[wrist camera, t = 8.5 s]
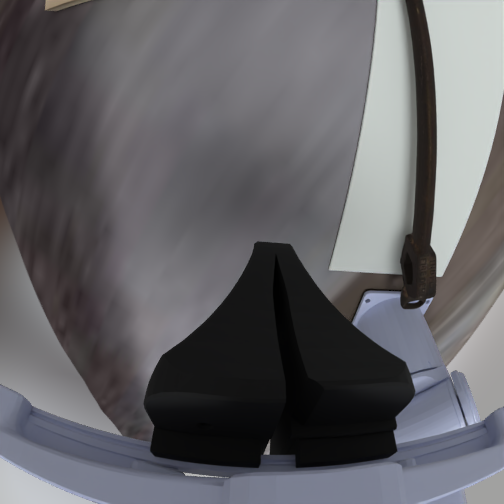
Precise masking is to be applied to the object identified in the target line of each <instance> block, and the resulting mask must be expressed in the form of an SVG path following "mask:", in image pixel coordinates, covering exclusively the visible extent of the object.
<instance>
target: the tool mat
mask: <svg viewBox="0 0 504 504" xmlns="http://www.w3.org/2000/svg"><path fill="white" fill-rule="evenodd" d="M423 4H424V8H425V13H426V18H427V23H428V29H429V35H430V41H431V48H432V56H433V65H434V76H435V90H436V112H437V167H436V186H435V202H434V216H433V225H432V234H431V243H430V245H431V247H432V249H433V250H434V252H435V254H436V260H437V267H436V276H437V277H442V275H443V273H444V271H445V269H446V267H447V265H448V263H449V261H450V259H451V257H452V255H453V253H454V250H455V248H456V246H457V244H458V241H459V239H460V237H461V234H462V232H463V230H464V227H465V225H466V222H467V220H468V217H469V215H470V212H471V210H472V207H473V204H474V201H475V199H476V196H477V193H478V190H479V187H480V184H481V181H482V178H483V175H484V172H485V169H486V165H487V162H488V158H489V155H490V151H491V147H492V144H493V140H494V136H495V132H496V127H497V123H498V118H499V113H500V108H501V103H502V97H503V91H504V0H423ZM416 158H417V106H416V83H415V67H414V57H413V46H412V38H411V30H410V24H409V17H408V12H407V7H406V1H405V0H377V10H376V22H375V33H374V42H373V51H372V59H371V67H370V75H369V82H368V88H367V95H366V101H365V108H364V114H363V119H362V125H361V131H360V136H359V141H358V147H357V152H356V157H355V162H354V166H353V171H352V176H351V181H350V185H349V190H348V194H347V198H346V203H345V207H344V211H343V215H342V219H341V223H340V227H339V231H338V235H337V239H336V243H335V247H334V251H333V254H332V258H331V262H330V265H329V270H335V271H351V272H367V273H383V274H401V275H402V269H401V264H400V258H401V255H402V249H403V246H404V241H405V236H406V235H407V234H411V233H412V230H413V218H414V203H415V183H416Z"/></svg>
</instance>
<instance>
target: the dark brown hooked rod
mask: <svg viewBox="0 0 504 504" xmlns="http://www.w3.org/2000/svg"><path fill="white" fill-rule="evenodd" d="M405 1H406V7H407V12H408V17H409V24H410V30H411V38H412V46H413V57H414V67H415V83H416V106H417V158H416V183H415V203H414V218H413V230H412V233H411V234H407V235H406V236H405V241H404V246H403V249H402V255H401V258H400V264H401V269H402V275H403V281H404V287H403V289H402V291H401V295H400V304H401V307H402V308H403V309H417V308H419V307H421V306H422V305H423V304H424V303H425V302H426V299H430V298H433V297H434V296H435V294H436V267H437V260H436V254H435V252H434V250H433V249H432V247H431V245H430V243H431V234H432V225H433V216H434V202H435V186H436V167H437V112H436V90H435V76H434V65H433V56H432V48H431V41H430V35H429V29H428V23H427V18H426V13H425V8H424V4H423V0H405ZM417 300H419V301H418V302H416V303H409V302H412V301H417Z"/></svg>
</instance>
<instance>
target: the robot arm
mask: <svg viewBox="0 0 504 504" xmlns="http://www.w3.org/2000/svg"><path fill="white" fill-rule="evenodd" d="M400 295H401V292H399V291H371V290H370V291H366V292H365V293H364V295H363V298H362V300H361V302H360V305H359V307H358V310H357V312H356V314H355V317H354V319H353V321H352V323H351V322H350V321H348V320H347V319H346V318H345V317H344V316H343V315H342V314H341V313H340V312H339V311H338V310H337V309H336V308H335V307H334V306H333V305H332V303H331V302H330V301H329V300H328V299H327V298H326V296H325V295H324V294H323V293H322V291H321V290H320V289H319V288H318V286H317V285H316V284H315V282H314V281H313V279H312V278H311V276H310V275H309V274H308V272H307V271H306V269H305V268H304V266H303V264H302V263H301V261H300V260H299V258H298V256H297V255H296V253H295V251H294V249H293V247H292V246H291V245H290V244H283V243H270V242H256V243H255V244H254V249H253V252H252V255H251V258H250V260H249V262H248V264H247V266H246V268H245V270H244V272H243V274H242V275H241V277H240V278H239V280H238V282H237V283H236V285H235V286H234V288H233V289H232V291H231V292H230V293H229V295H228V296H227V297H226V299H225V300H224V301H223V302H222V304H221V305H220V306H219V307H218V308H217V309H216V310H215V311H214V313H213V314H212V315H211V316H210V317H209V318H208V319H207V320H206V321H205V322H204V323H203V324H202V325H201V326H199V327H198V328H197V329H196V330H195V331H194V332H193V333H191V334H190V335H189V336H188V337H187V338H185V339H184V340H183V341H182V342H180V343H179V344H177V345H176V346H175V347H173V348H172V349H170V350H169V351H168V352H166V353H165V354H163V355H162V357H161V358H160V360H159V362H158V364H157V365H156V367H155V369H154V371H153V374H152V376H151V379H150V381H149V384H148V387H147V391H146V395H145V399H144V408H145V410H146V412H147V414H148V416H149V417H150V419H151V421H152V423H153V425H154V426H155V427H154V431H153V436H152V442H147V441H142V440H137V439H133V438H129V437H124V436H120V435H116V434H113V433H109V432H105V431H102V430H98V429H94V428H91V427H88V426H85V425H82V424H79V423H76V422H73V421H70V420H67V419H64V418H61V417H58V416H56V415H53V414H50V413H48V412H45V411H43V410H40V409H38V408H35V407H33V406H32V405H31V403H30V402H29V401H28V400H27V399H26V398H25V397H24V396H22V395H21V394H19V393H18V392H16V391H13V390H11V389H9V388H7V387H5V386H3V385H0V457H1V458H2V459H4V460H5V461H7V462H9V463H10V464H12V465H14V466H16V467H17V468H19V469H21V470H23V471H25V472H27V473H28V474H31V475H32V476H34V477H36V478H38V479H40V480H43V481H45V482H47V483H49V484H51V485H53V486H55V487H57V488H60V489H62V490H64V491H67V492H69V493H71V494H74V495H77V496H79V497H82V498H84V499H87V500H90V501H92V502H95V503H98V504H467V502H466V497H465V492H464V489H465V488H468V487H470V486H472V485H474V484H476V483H478V482H480V481H482V480H484V479H486V478H488V477H490V476H492V475H494V474H496V473H497V472H499V471H501V470H503V469H504V407H502V408H499V409H497V410H496V411H494V412H493V413H491V414H490V415H489V416H488V417H487V418H485V420H483V421H480V417H479V414H478V411H477V408H476V405H475V402H474V399H473V396H472V393H471V391H470V388H469V385H468V383H467V381H466V378H465V376H464V374H463V373H461V372H457V371H456V370H455V371H453V372H452V373H451V377H452V379H453V382H454V385H453V382H452V380H451V377H450V375H449V373H448V371H447V369H446V366H445V365H444V362H443V360H442V357H441V355H440V352H439V350H438V348H437V345H436V343H435V340H434V338H433V336H432V334H431V331H430V329H429V327H428V324H427V322H426V320H425V318H424V316H423V315H424V313H425V312H426V310H427V308H428V306H429V305H430V303H431V301H432V299H433V298H430V299H426V302H425V303H424V304H423V305H422V306H421V307H419V308H417V309H403V308H402V307H401V304H400ZM367 299H368V300H367ZM418 301H419V300H417V301H412V302H409V303H416V302H418ZM465 419H466V420H465ZM466 422H467V423H466ZM467 425H468V426H467ZM269 439H271V440H270V455H263V454H264V451H265V449H266V447H267V444H268V442H269ZM183 472H185V473H192V474H199V475H209V476H218V477H230V478H216V477H197V476H185V474H184V473H183Z"/></svg>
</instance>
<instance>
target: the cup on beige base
mask: <svg viewBox="0 0 504 504" xmlns="http://www.w3.org/2000/svg"><path fill="white" fill-rule="evenodd" d="M87 1H91V0H46V5H45V10H48V11H59V10H61V9H64V8H67V7H70V6H74V5H77V4H80V3H84V2H87Z"/></svg>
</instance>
